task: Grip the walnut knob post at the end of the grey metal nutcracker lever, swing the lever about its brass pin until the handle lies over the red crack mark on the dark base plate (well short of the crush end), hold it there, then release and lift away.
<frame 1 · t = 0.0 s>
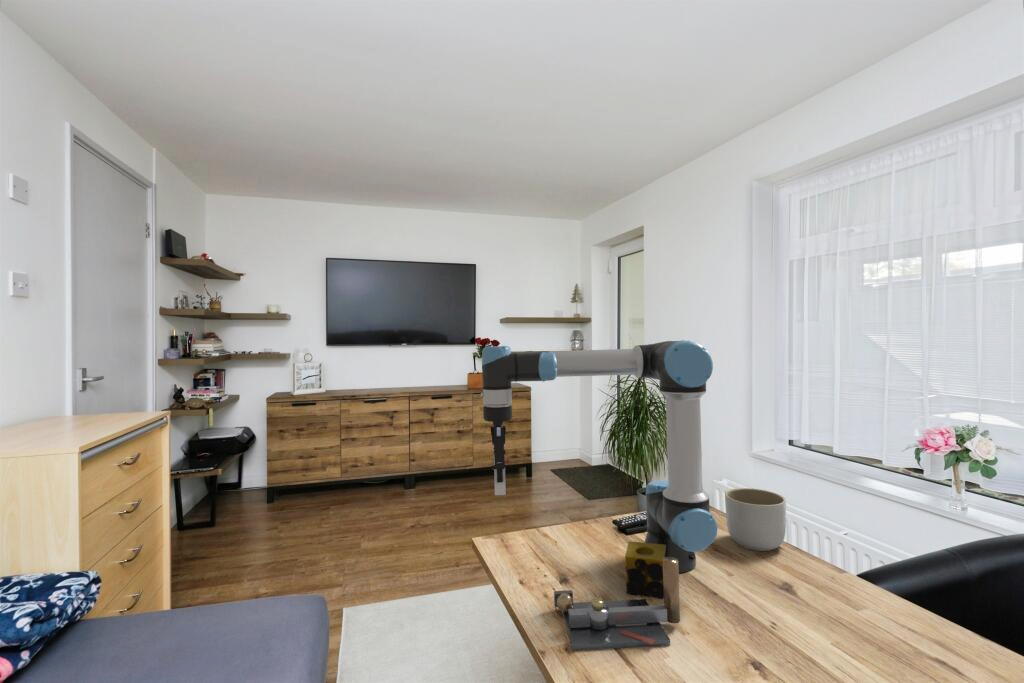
hand: (499, 486, 123), 28 cm above the table, fingers open, 13 cm apart
planter: (755, 545, 148), on the table
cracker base: (598, 630, 106), on the table
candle: (647, 588, 124), on the table
lever: (624, 592, 107), point 8 cm above the table, hinge at 0.0°
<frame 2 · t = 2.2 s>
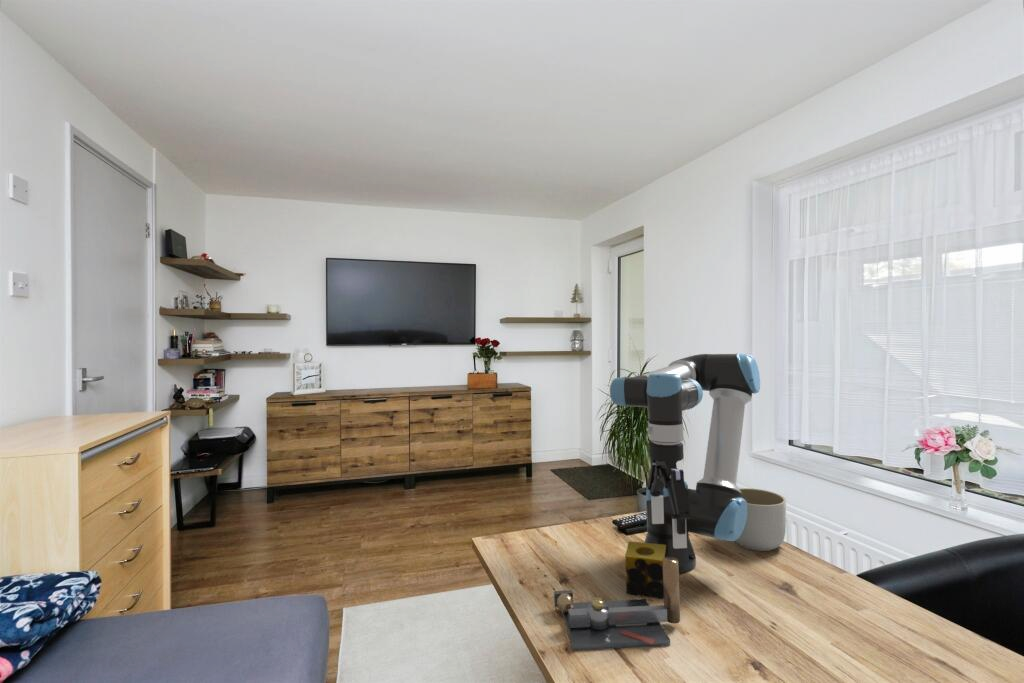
hand: (668, 534, 107), 21 cm above the table, fingers open, 13 cm apart
nothing on the table moved.
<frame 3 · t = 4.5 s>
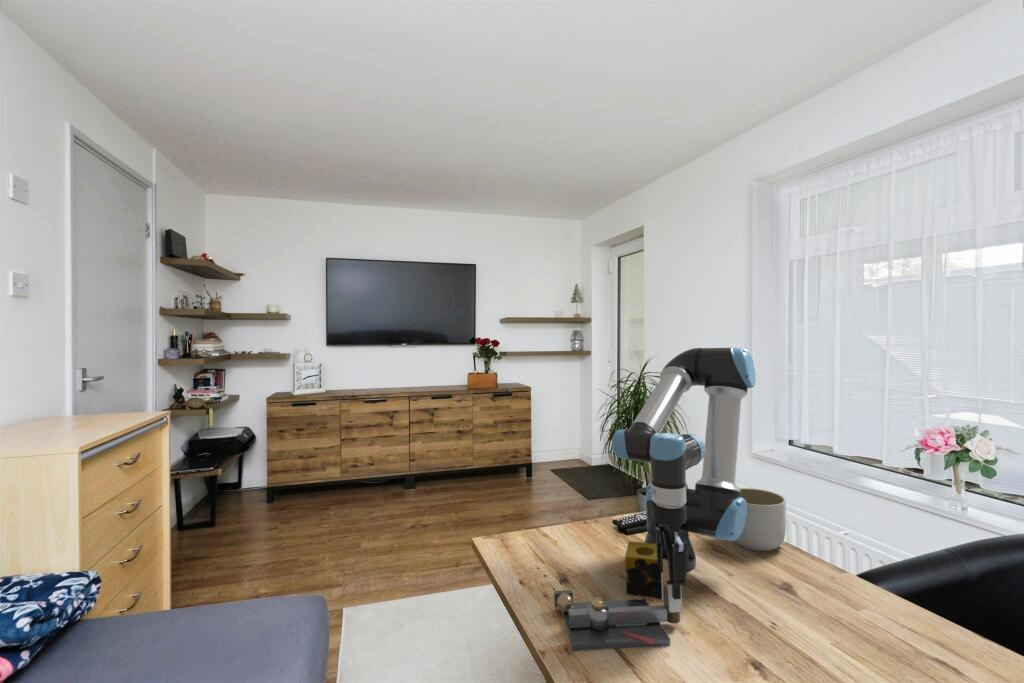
hand: (671, 605, 107), 5 cm above the table, fingers closed on lever, 3 cm apart
lever: (624, 592, 107), point 8 cm above the table, hinge at 0.0°, touching gripper
everything else where it was.
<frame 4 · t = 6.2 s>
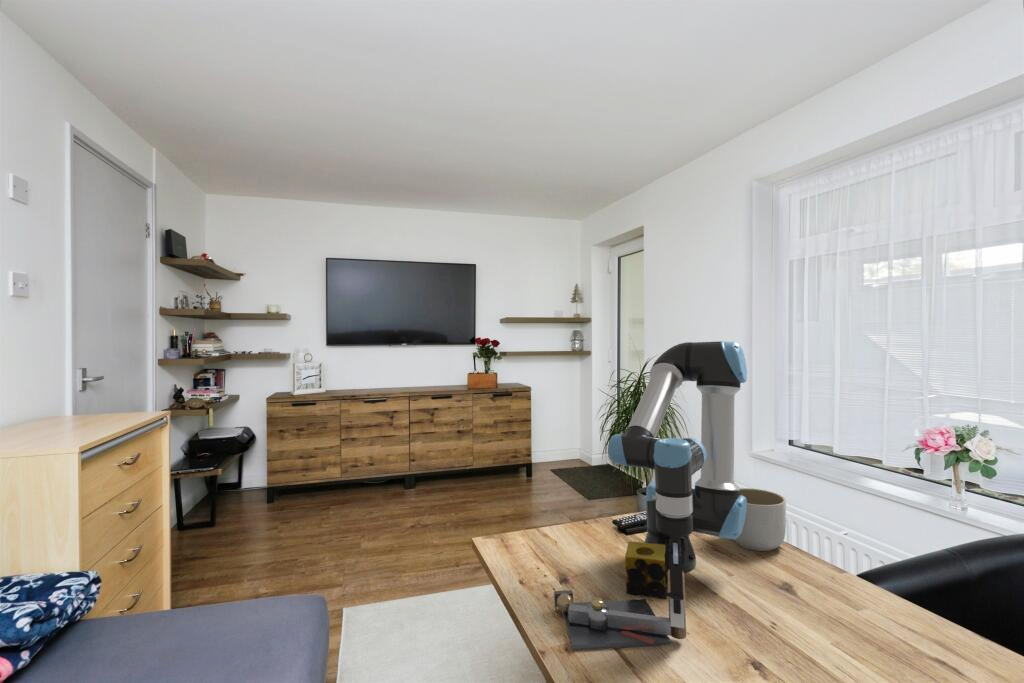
hand: (677, 620, 102), 5 cm above the table, fingers closed on lever, 3 cm apart
lever: (625, 596, 105), point 8 cm above the table, hinge at -18.9°, touching gripper
everything else where it was.
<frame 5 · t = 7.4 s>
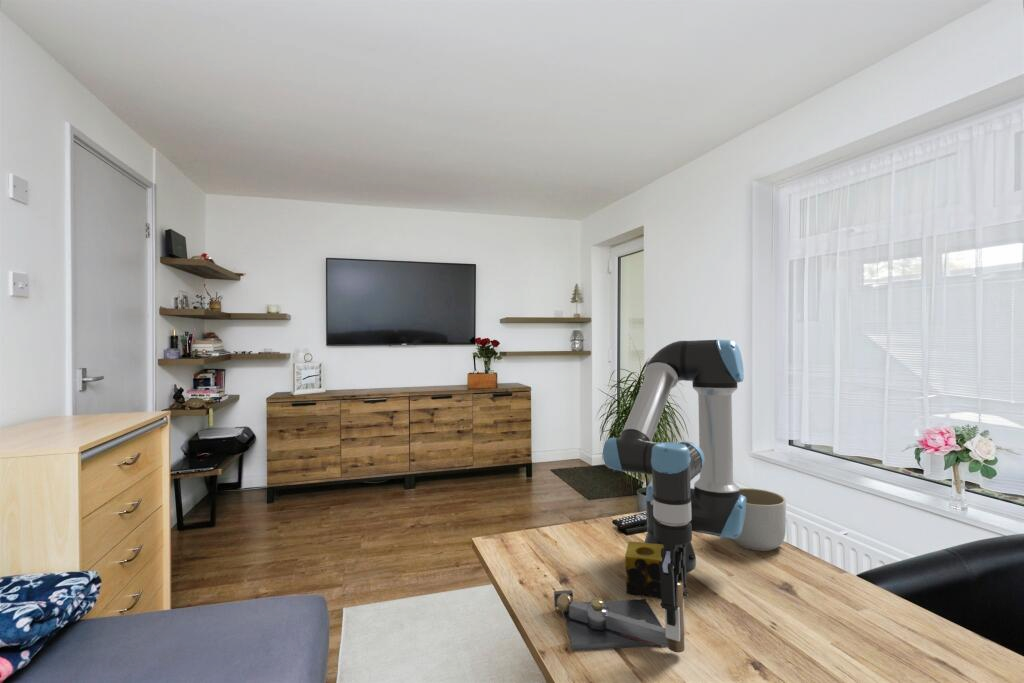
hand: (675, 632, 97), 5 cm above the table, fingers closed on lever, 3 cm apart
lever: (623, 600, 103), point 8 cm above the table, hinge at -34.6°, touching gripper
everything else where it was.
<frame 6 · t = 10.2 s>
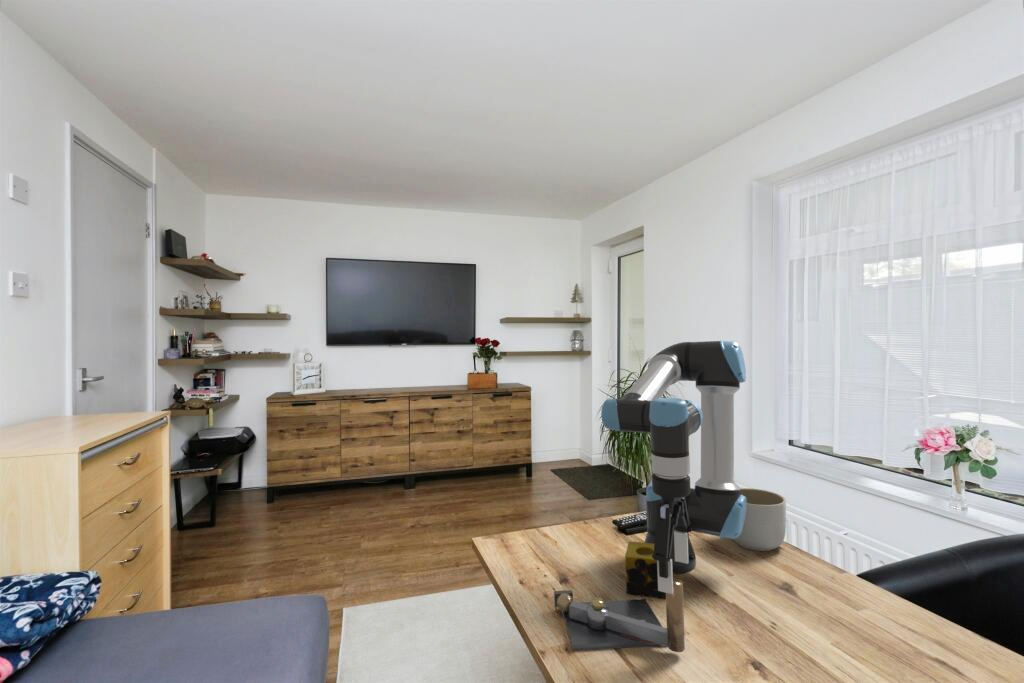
hand: (674, 576, 98), 16 cm above the table, fingers open, 13 cm apart
lever: (623, 600, 103), point 8 cm above the table, hinge at -34.2°
everything else where it was.
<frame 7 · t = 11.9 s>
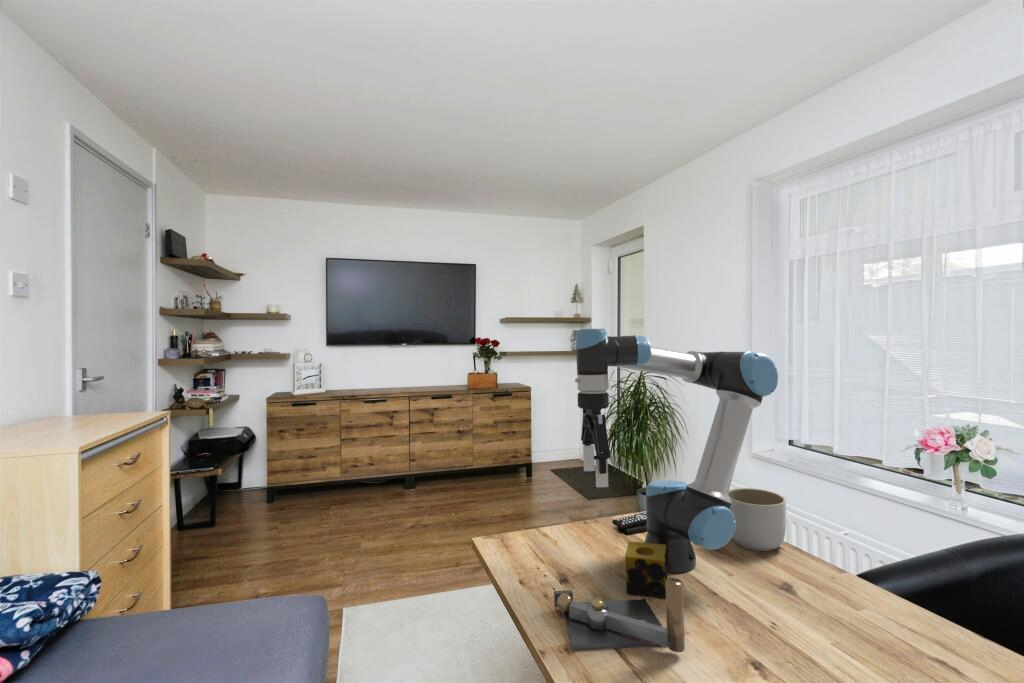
hand: (595, 478, 115), 32 cm above the table, fingers open, 13 cm apart
nothing on the table moved.
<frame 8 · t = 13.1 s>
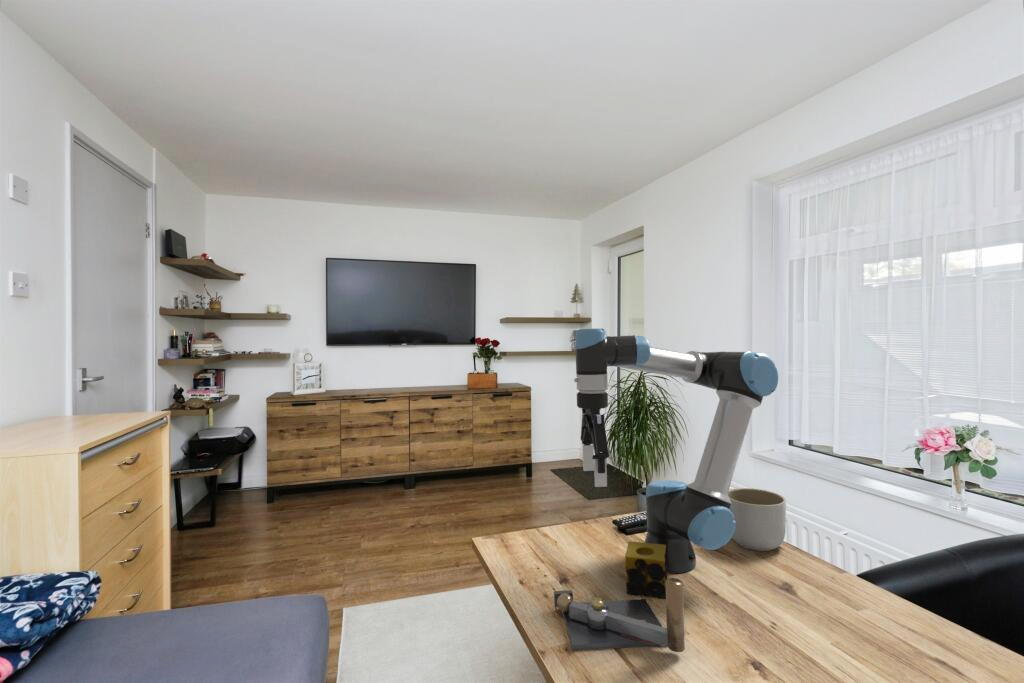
hand: (594, 478, 116), 32 cm above the table, fingers open, 13 cm apart
nothing on the table moved.
at the end: lever at -34° (first picture: +0°); the gripper is holding nothing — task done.
